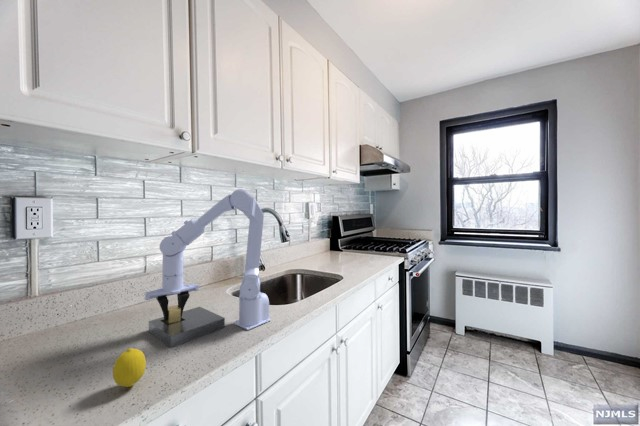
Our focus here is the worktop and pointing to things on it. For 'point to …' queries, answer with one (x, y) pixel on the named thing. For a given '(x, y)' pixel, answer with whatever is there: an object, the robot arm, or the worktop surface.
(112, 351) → the worktop surface
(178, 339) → the peg hole base
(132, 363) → the lemon
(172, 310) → the tan wooden block
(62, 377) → the worktop surface
